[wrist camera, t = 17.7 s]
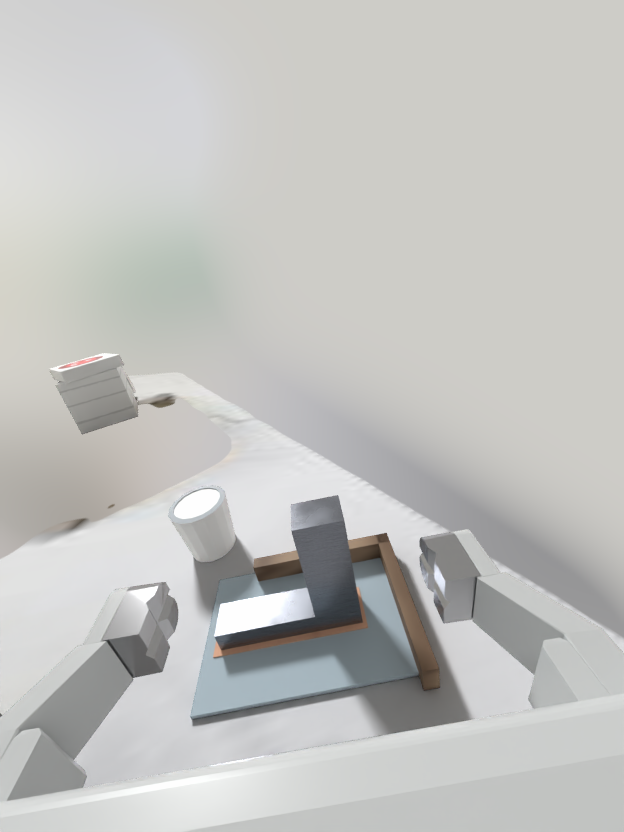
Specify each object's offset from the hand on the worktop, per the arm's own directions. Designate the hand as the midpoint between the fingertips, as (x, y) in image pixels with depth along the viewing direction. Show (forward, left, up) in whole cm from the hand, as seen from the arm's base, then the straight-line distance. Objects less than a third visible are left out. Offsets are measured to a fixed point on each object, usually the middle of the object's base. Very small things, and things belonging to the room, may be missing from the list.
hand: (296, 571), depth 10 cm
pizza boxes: (-106, +36, -21) cm, 114 cm away
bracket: (-11, +7, -21) cm, 24 cm away
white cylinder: (-27, +11, -21) cm, 36 cm away
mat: (-10, +8, -21) cm, 25 cm away
